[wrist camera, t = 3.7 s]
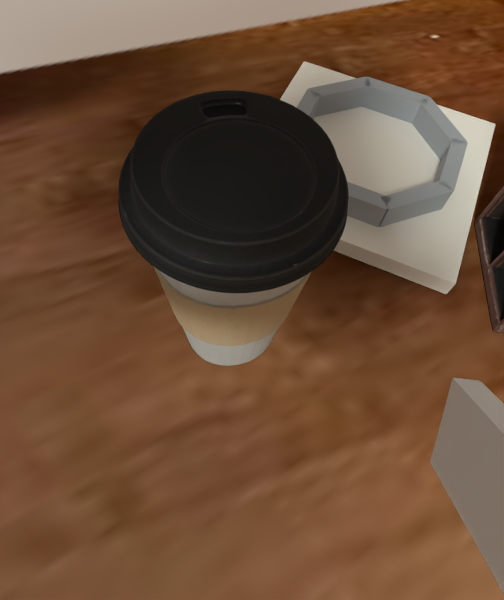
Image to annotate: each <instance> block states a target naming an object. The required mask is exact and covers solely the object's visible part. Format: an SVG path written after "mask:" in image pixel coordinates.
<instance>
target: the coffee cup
mask: <svg viewBox="0 0 504 600" xmlns="http://www.w3.org/2000/svg"><path fill="white" fill-rule="evenodd" d="M348 200H349V191H348V184H347V179H346V176H345V173H344V170H343V168H342V165H341V163H340V161H339V160H338V158H337V154H336V151H335V148H334V146H333V144H332V142H331V140H330V138H329V137H328V135H327V134H326V133H325V131H324V130H323V129H322V128H321V127H320V125H319V124H318V123H317V122H316V121H314V120H313V119H312V118H311V117H310V116H308V115H307V114H306V113H304V112H303V111H301V110H300V109H298V108H296V107H295V106H293V105H291V104H289V103H287V102H284V101H282V100H279V99H277V98H274V97H271V96H267V95H263V94H258V93H253V92H246V91H215V92H208V93H202V94H198V95H194V96H191V97H188V98H185V99H182V100H180V101H178V102H175V103H173V104H172V105H170V106H168V107H166V108H165V109H163V110H162V111H160V112H159V113H158V114H156V115H155V116H154V117H153V118H152V119H151V120H150V121H149V122H148V123H147V124H146V125H145V126H144V128H143V129H142V131H141V132H140V134H139V135H138V137H137V139H136V142H135V144H134V147H133V148H132V149H131V151H130V153H129V154H128V156H127V158H126V160H125V162H124V165H123V167H122V170H121V174H120V179H119V212H120V217H121V221H122V224H123V227H124V230H125V232H126V234H127V236H128V238H129V239H130V241H131V243H132V244H133V246H134V247H135V248H136V250H137V251H138V252H139V253H140V254H141V255H142V256H143V258H145V259H146V260H147V261H148V262H149V263H150V264H151V265H153V267H154V269H155V271H156V273H157V276H158V278H159V280H160V283H161V285H162V287H163V289H164V292H165V294H166V296H167V299H168V301H169V303H170V305H171V308H172V310H173V312H174V314H175V316H176V318H177V320H178V321H179V323H180V324H181V325H182V326H183V329H184V331H185V333H186V335H187V338H188V340H189V342H190V344H191V346H192V348H193V349H194V350H195V352H196V353H197V354H198V355H199V356H200V357H202V358H203V359H204V360H206V361H208V362H210V363H213V364H218V365H227V366H231V365H239V364H242V363H246V362H249V361H251V360H253V359H255V358H256V357H258V356H259V355H260V354H262V353H263V352H264V350H265V349H266V348H267V347H268V345H269V343H270V342H271V340H272V338H273V336H274V334H275V332H276V331H277V329H278V328H279V327H280V326H281V324H282V323H283V322H284V321H285V320H286V318H287V316H288V314H289V312H290V311H291V309H292V307H293V305H294V303H295V301H296V300H297V298H298V296H299V294H300V292H301V290H302V289H303V287H304V285H305V283H306V281H307V280H308V278H309V276H310V274H311V272H312V271H313V270H314V269H316V268H317V267H318V266H319V265H320V264H322V263H323V262H324V261H325V260H326V259H327V257H328V256H329V255H330V254H331V253H332V251H333V250H334V249H335V247H336V246H337V244H338V242H339V240H340V238H341V236H342V234H343V231H344V228H345V225H346V220H347V212H348Z"/></svg>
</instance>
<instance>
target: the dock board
mask: <svg viewBox="0 0 504 600" xmlns="http://www.w3.org/2000/svg"><path fill="white" fill-rule="evenodd" d="M280 100H282V101H284V102H287V103H289V104H291V105H293V106H295V107H296V108H298V109H300V110H301V111H303V112H304V113H306V114H307V115H308V116H310V117H311V118H312V119H313V120H314V121H316V122H317V123H318V124H319V125H320V127H321V128H322V129H323V130H324V131H325V133H326V134H327V135H328V137H329V138H330V140H331V142H332V144H333V146H334V148H335V151H336V154H337V158H338V160H339V161H340V163H341V165H342V168H343V170H344V173H345V176H346V179H347V184H348V191H349V200H348V212H347V220H346V225H345V228H344V231H343V234H342V236H341V238H340V240H339V242H338V244H337V246H336V247H335V249H334V250H333V251H336V252H338V253H341V254H343V255H346V256H349V257H351V258H354V259H356V260H359V261H361V262H364V263H367V264H369V265H372V266H374V267H377V268H379V269H382V270H385V271H387V272H390V273H392V274H395V275H397V276H400V277H403V278H405V279H408V280H410V281H413V282H415V283H418V284H421V285H423V286H426V287H428V288H431V289H433V290H436V291H439V292H441V293H444V294H447V293H448V292H449V291H450V290H451V289H452V287H453V286H454V285H455V284H456V281H457V277H458V273H459V269H460V265H461V261H462V257H463V253H464V249H465V245H466V241H467V237H468V233H469V229H470V225H471V221H472V217H473V213H474V209H475V205H476V201H477V197H478V193H479V189H480V185H481V181H482V177H483V173H484V169H485V165H486V161H487V157H488V153H489V149H490V145H491V141H492V137H493V133H494V129H495V125H496V124H494V123H491V122H488V121H485V120H482V119H479V118H476V117H473V116H470V115H467V114H463V113H460V112H457V111H454V110H451V109H448V108H445V107H442V106H439V105H436V103H435V102H434V101H433V100H432V99H431V98H429V96H426V95H423V94H420V93H416V92H413V91H410V90H407V89H404V88H401V87H398V86H395V85H392V84H389V83H386V82H383V81H380V80H377V79H374V78H371V77H361V78H354V77H351V76H348V75H345V74H342V73H339V72H336V71H332V70H329V69H326V68H323V67H320V66H317V65H314V64H311V63H308V62H305V61H304V62H303V64H302V65H301V67H300V69H299V70H298V72H297V73H296V75H295V76H294V78H293V80H292V81H291V83H290V84H289V86H288V87H287V89H286V91H285V92H284V94H283V95H282V97H281V99H280Z"/></svg>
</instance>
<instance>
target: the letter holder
mask: <svg viewBox="0 0 504 600" xmlns="http://www.w3.org/2000/svg"><path fill="white" fill-rule="evenodd" d="M475 229H476V236H477V242H478V249H479V254H480V260H481V266H482V272H483V278H484V284H485V289H486V296H487V301H488V308H489V312H490V318H491V324H492V329H493V331H494V332H498V333H504V185H503V187H502V188H501V189H500V190H499V192H498V193H497V194H496V196H495V197H494V198H493V199H492V201H491V202H490V203H489V204H488V206H487V207H486V208H485V209H484V210H483V211H482V213H481V214H480V215H479V216H478V218H477V219H476V221H475Z"/></svg>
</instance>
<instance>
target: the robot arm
mask: <svg viewBox="0 0 504 600" xmlns="http://www.w3.org/2000/svg"><path fill="white" fill-rule="evenodd" d="M430 463H431V465H432V467H433V469H434V471H435V472H436V474H437V476H438V478H439V479H440V481H441V483H442V485H443V487H444V488H445V490H446V492H447V494H448V495H449V497H450V499H451V501H452V503H453V504H454V506H455V508H456V510H457V511H458V513H459V515H460V517H461V519H462V520H463V522H464V524H465V526H466V527H467V529H468V531H469V533H470V535H471V536H472V538H473V540H474V542H475V543H476V545H477V547H478V549H479V551H480V552H481V554H482V556H483V558H484V559H485V561H486V563H487V565H488V567H489V568H490V570H491V572H492V574H493V575H494V577H495V579H496V581H497V583H498V584H499V586H500V588H501V590H502V591H503V593H504V404H503V403H502V402H501V401H500V400H499V399H498V398H497V397H496V396H495V395H494V394H493V393H492V392H491V391H490V390H489V389H488V388H487V387H486V386H485V385H484V384H483V383H482V382H481V381H476V380H468V379H460V378H453V379H452V382H451V386H450V390H449V394H448V397H447V401H446V405H445V409H444V412H443V416H442V420H441V424H440V427H439V431H438V435H437V439H436V442H435V446H434V450H433V454H432V458H431V461H430Z"/></svg>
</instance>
